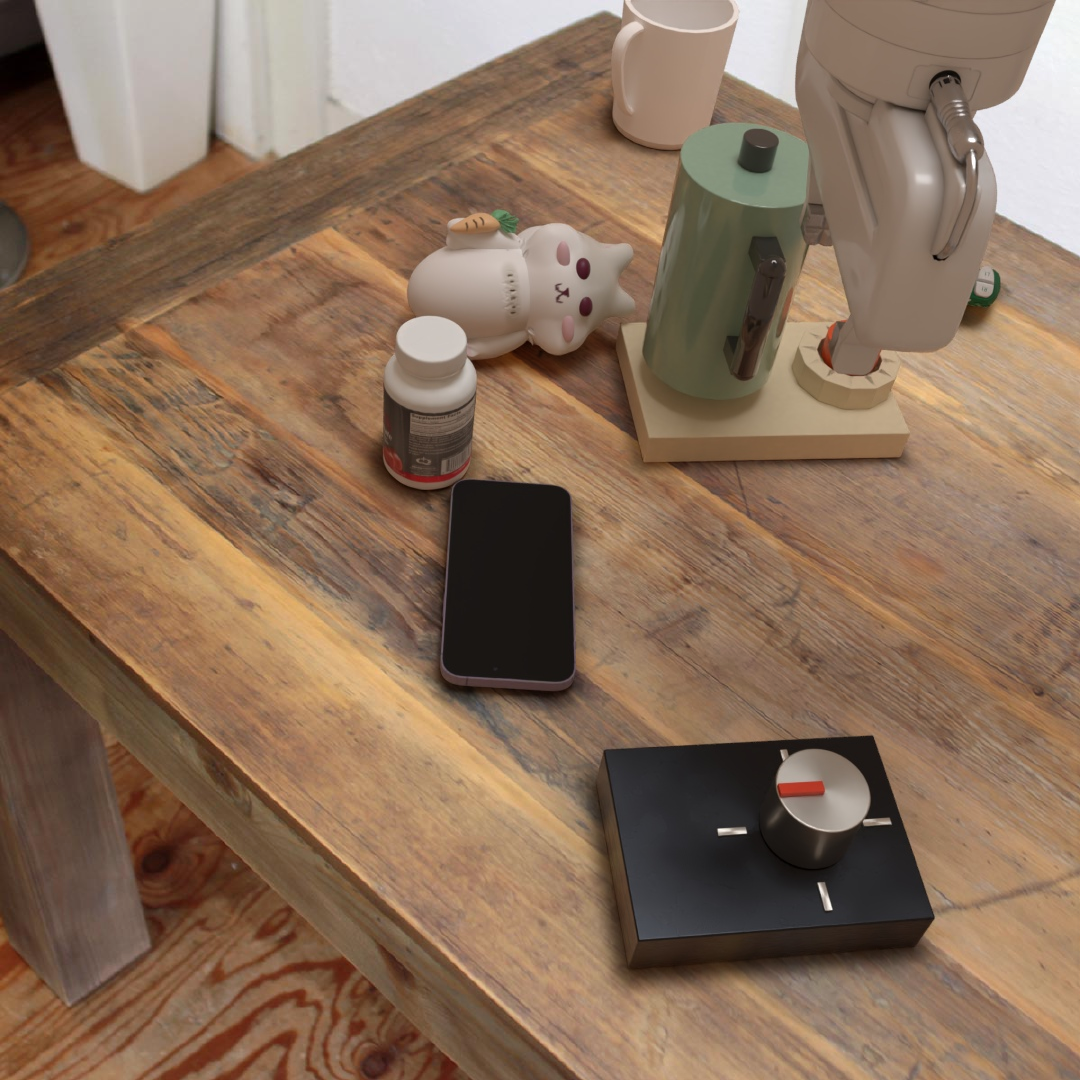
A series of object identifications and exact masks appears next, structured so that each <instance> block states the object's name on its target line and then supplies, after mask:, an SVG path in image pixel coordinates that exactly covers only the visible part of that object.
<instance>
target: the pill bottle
mask: <svg viewBox="0 0 1080 1080" xmlns="http://www.w3.org/2000/svg"><path fill="white" fill-rule="evenodd" d="M394 345H395V346H394V353H393V354H392V356H391V357H390V358H389V359H388V361H387V363H386V365H385V367H384V370H383V380H382V381H383V382H382V388H383V389H382V390H383V391H382V392H383V394H382V395H383V398H382V400H383V402H382V411H383V412H382V414H383V415H382V459H383V463H384V467H385V468H386V470H387V472H388V473H389V474H390V475H391V476H392V477H393V478H394V479H395V480H396V481H398V482H399V483H400V484H403V485H405V486H407V487H409V488H413V489H417V490H421V491H422V490H428V491H429V490H437V489H438V490H439V489H443V488H446V487H449V486H451V485H454V484H455V483H457V482H458V481H460V480H462V478H463V477H464V476H465V475H466V473H467V471H468V470H469V467H470V464H471V461H472V460H471V459H472V452H473V451H472V449H473V436H474V425H475V414H476V413H475V412H476V406H477V405H476V403H477V388H478V375H477V371H476V368H475V365H474V364H473V362H472V360H469V359H468V358H467V338H466V334H465V332H464V331H463V329H462V328H461V327H460V326H459V325H458V324H456V323H455V322H453V321H451V320H449V319H446V318H443V317H438V316H422V317H413V318H411V319H409V320H408V321H405V322H404V323H403V324H401V326H400V327H399V328H398V329H397V332H396V336H395V344H394Z"/></svg>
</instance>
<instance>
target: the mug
mask: <svg viewBox="0 0 1080 1080" xmlns="http://www.w3.org/2000/svg"><path fill="white" fill-rule="evenodd" d="M740 12H741V11H740V8H739V5H738V2H736V0H623V5H622V13H621V14H622V15H621V25H620V30H619V31H618V33H617V34H616V36H615V39H614V42H613V44H612V50H611V56H610V57H611V58H610V71H611V72H610V73H611V74H610V76H611V85H612V92H613V103H612V114H611V115H612V116H611V117H612V121H613V124H614V126H615V127H616V129H617V131H618V132H619V133H620V134H621V135H622V136H624V137H625V138H626V139H628V140H630V141H631V142H633V143H636V144H638V145H640V146H643V147H646V148H651V149H655V150H665V151H677V150H681V148H682V146H683V144H684V142H685V141H686V139H687V138H688V137H689V136H690V135H692V134H693V133H695V132H696V131H698V130H700V129H702V128H705V127H708V126H711V122H712V118H713V114H714V110H715V106H716V102H717V99H718V95H719V91H720V88H721V84H722V80H723V77H724V73H725V69H726V65H727V61H728V58H729V54H730V50H731V47H732V44H733V39H734V36H735V32H736V29H737V23H738V20H739V17H740Z"/></svg>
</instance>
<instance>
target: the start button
mask: <svg viewBox="0 0 1080 1080" xmlns="http://www.w3.org/2000/svg"><path fill="white" fill-rule="evenodd" d="M840 321H843V322H846V321H847V319H842V320H840ZM834 322H835V323H834V324H832V325H831V326H830V327H829V329H828V332H827V335H826V338H825V341H824V344H823V347H822V350H821V356H822V359H823V361H824V362H825V364H826V365H827V366H828V367H830V368H831V369H832V370H833V366H832V363H831V356H830V351H829V346H828V344H829V341H830V340H831V339H832V332H833V330H834V327H835V324H836V321H834ZM880 353H881V350H880V351H879V354H878V356H877V359H876V361H875V364H874V367H873V369H872V370H871V371H870V372H869V373H871V372H872V371H873V370H874V368H875V367H876V364H877V361H878V358H879V356H880ZM869 373H867V374H869ZM867 374H865V375H867ZM845 375H848V376H864V375H849V374H845Z"/></svg>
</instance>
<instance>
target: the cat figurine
mask: <svg viewBox="0 0 1080 1080" xmlns="http://www.w3.org/2000/svg"><path fill="white" fill-rule="evenodd" d="M519 220H520V219H519V218H518V217H517V216H516V215H511V213H510V212H508V211H507V210H503V209H499V208H498V209H494V210H493V211H492V212H491V213H490V214H489V213H487V212H486V213H485V212H476V213H473V214H471V215H469V216H467V217H456V218H453V219H450V220H449V221H448V222H447V224H446V230H447V235H446V238H445V244H446V246H443V247H441V248H439V249H437V250H435V251H433V252H432V253H430V254H429V255H427V256H426V257H425V258H424V259H422V260H421V261H420V262H419V263H418V264H417V266H416V267H415V268H414V270H413V271H412V273H411V275H410V277H409V279H408V282H407V286H406V297H407V298H406V299H407V303H408V305H409V308H410V310H411V312H412V313H413V315H414V316H415V318H417V317H422V316H438V317H443V318H446V319H449V320H451V321H453V322H455V323H456V324H458V325H459V326H460V327H461V328H462V329H463V331H464V332H465V334H466V338H467V358H468V359H469V360H470V361H481V360H491V359H495V358H497V357H500V356H503V355H506V354H508V353H510V352H513V351H514V350H516V349H518V348H519V347H521V346H523V345H524V344H525V343H526V342H528V343H531V345H532V346H534V345H535V346H539V347H540V348H541V349H542V350H543V351H545V352H546V353H548V354H550V355H553V356H562V355H565V354H569V353H571V352H574V351H576V350H578V349H579V348H580V347H581V346H582V345H583V344H584V343H585V341H586V340H587V338H588V336H589V335H590V334H592V332H594V331H595V330H596V329H598V328H599V326H600V325H601V324H603V323H604V322H605V321H606V320H608V319H610V318H618V319H619V318H628V317H631V316H632V315H633V314H634V313H635V311H636V308H637V304H636V301H635V300H634V298H633V297H632V296H631V295H630V294H628V293H627V292H626V291H625V290H623V288H622V287H621V286H620V284H619V280H620V278H621V275H622V274H623V273H624V271H625V270H626V269H627V268H628V267H629V265H631V263H632V261H633V259H634V255H635V253H634V249H633V247H632V245H630V244H629V243H627V242H621V243H608V242H607V243H605V242H600V241H598V240H596V239H595V238H594V237H592V236H590V235H588V234H587V233H583V232H582V231H579V230H576V229H575V228H574V227H572V226H571V225H569V224H567V223H562V222H550V223H546V224H544V225H536V226H530V227H527V228H525V229H524V230H522V231H521V232H519V233H518V234H516V233H517V226H518V223H519Z"/></svg>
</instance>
